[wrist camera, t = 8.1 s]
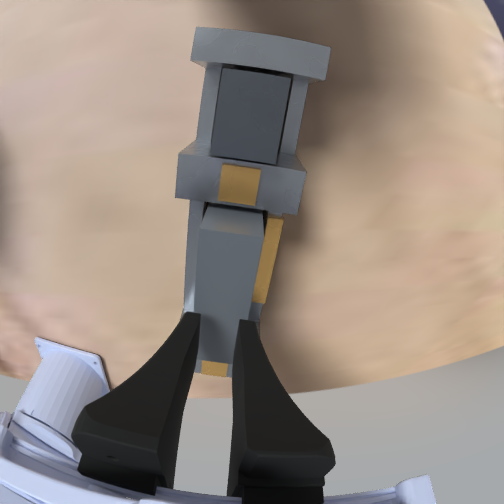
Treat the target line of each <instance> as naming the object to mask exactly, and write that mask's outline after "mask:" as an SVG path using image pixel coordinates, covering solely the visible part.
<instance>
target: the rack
mask: <svg viewBox="0 0 504 504" xmlns="http://www.w3.org/2000/svg"><path fill="white" fill-rule="evenodd" d="M330 51H331V47H327V46H323V45H319V44H315V43H311V42H306V41H302V40H297V39H292V38H287V37H281V36H275V35H269V34H263V33H256V32H248V31H240V30H231V29H219V28H205V27H196V30H195V36H194V42H193V47H192V53H191V61H193V62H195V63H197V64H199V65H201V66H202V67H204V68H206V71H205V78H204V84H203V91H202V98H201V105H200V113H199V121H198V129H197V137H196V140H195V141H193V142H192V143H191V144H190V145H188V146H187V147H186V148H185V149H183V150H182V151H181V152H180V153H179V155H178V166H177V179H176V192H175V198H182V199H189V200H190V207H189V219H188V233H187V249H186V267H185V288H184V308H183V311H182V315H181V318H180V320H181V319H182V317H183V315H184V313H185V312H193V310H194V293H195V278H196V264H197V251H198V239H199V228H200V226H201V223H202V220H203V218H204V215H205V208H206V202H212V203H219V204H227V205H234V206H241V207H247V208H254V209H261V210H267V212H266V217H265V222H264V227H263V229H264V240H263V245H262V250H261V255H260V260H259V265H258V271H257V276H256V281H255V286H254V291H253V296H252V301H251V306H250V311H249V316H248V320H251V321H254V322H255V323H256V326H257V330H258V334H259V337H260V314H261V309H262V305H263V303H264V304H265V302H266V297H267V293H268V289H269V284H270V280H271V275H272V271H273V267H274V262H275V258H276V253H277V249H278V244H279V240H280V235H281V231H282V226H283V221H284V219H283V218H282V214H283V213H286V214H292V215H297V213H298V208H299V204H300V199H301V195H302V191H303V186H304V182H305V177H306V170H305V169H304V167H303V166H302V164H301V162H300V161H299V159H298V158H297V156H296V155H295V150H296V145H297V140H298V135H299V130H300V125H301V120H302V115H303V109H304V104H305V99H306V94H307V88H308V84H309V83H315V82H320V81H325V79H326V73H327V68H328V63H329V57H330ZM232 366H233V364H226V363H218V362H211V361H204V360H197V361H196V367H195V370H194V372H196V373H201V374H206V375H213V376H221V377H232Z"/></svg>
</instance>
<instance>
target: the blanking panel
mask: <svg viewBox="0 0 504 504" xmlns="http://www.w3.org/2000/svg"><path fill="white" fill-rule="evenodd" d="M263 240H264V229H263V210H261V209H254V208H247V207H241V206H234V205H227V204H219V203H212V202H210V203H209V205H208V208H207V210H206V213H205V215H204V218H203V220H202V223H201V226H200V228H199V239H198V251H197V264H196V278H195V293H194V310H193V313H200V314H201V321H200V336H199V348H198V354H197V360H204V361H211V362H218V363H226V364H233V356H234V348H235V342H236V337H237V331H238V325H239V320H240V319H243V320H248V316H249V311H250V306H251V301H252V296H253V291H254V286H255V281H256V276H257V271H258V265H259V260H260V255H261V250H262V245H263Z"/></svg>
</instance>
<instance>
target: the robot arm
mask: <svg viewBox="0 0 504 504" xmlns="http://www.w3.org/2000/svg"><path fill="white" fill-rule="evenodd" d="M200 321H201V314H200V313H193V312H185V313H184V315H183V317H182V319H181V320H180V322H179V323H178V325H177V326H176V328H175V329H174V331H173V332H172V333H171V335H170V336H169V337H168V339H167V340H166V341H165V342H164V344H163V345H162V346H161V347H160V348H159V349H158V351H157V352H156V353H155V354H154V355H153V356H152V357H151V358H150V359H149V360H148V361H147V362H146V363H145V364H144V365H143V366H142V367H141V368H140V369H139V370H138V371H137V372H135V373H134V374H133V375H132V376H131V377H130V378H128V379H127V380H126V381H124V382H123V383H122V384H120V385H119V386H117V387H116V388H114V389H113V390H112V391H110V389H109V386H108V382H107V379H106V376H105V372H104V369H103V366H102V362H101V359H100V357H99V356H98V355H96V354H93V353H89V352H85V351H82V350H78V349H75V348H71V347H68V346H64V345H61V344H58V343H55V342H51V341H48V340H45V339H42V338H39V337H36V338H35V343H36V346H37V348H38V351H39V353H40V355H41V358H42V361H41V363H40V364H39V366H38V368H37V370H36V372H35V373H34V375H33V377H32V379H31V381H30V382H29V384H28V386H27V388H26V390H25V392H24V394H23V396H22V397H21V399H20V402H19V403H18V405H17V407H16V409H15V411H14V412H13V414H10V413H9V412H7V411H5V412H0V504H436V500H435V496H434V492H433V488H432V485H431V481H430V477H429V475H428V474H425V475H421V476H417V477H413V478H409V479H406V480H403V481H402V482H400V483H398V484H397V485H396V486H395V487H390V488H385V489H379V490H374V491H367V492H361V493H353V494H346V495H336V496H326V497H324V496H323V486H324V485H325V480H324V476H325V475H326V474H327V473H328V472H329V471H330V470H331V469H332V468H333V467H334V466H335V464H336V463H335V455H334V451H333V448H332V445H331V442H330V440H329V439H328V438H327V437H326V436H325V435H324V434H323V433H322V432H321V431H320V430H318V429H317V428H316V427H315V426H314V425H313V424H312V423H311V422H310V420H309V419H308V418H307V417H306V416H305V415H304V414H303V413H302V412H301V410H300V409H299V408H298V407H297V405H296V404H295V403H294V402H293V400H292V399H291V398H290V396H289V395H288V393H287V392H286V390H285V389H284V387H283V386H282V384H281V382H280V381H279V379H278V377H277V376H276V374H275V372H274V370H273V368H272V366H271V364H270V362H269V360H268V357H267V355H266V353H265V350H264V348H263V345H262V343H261V340H260V337H259V334H258V330H257V326H256V323H255V322H254V321H251V320H243V319H240V320H239V325H238V331H237V337H236V342H235V348H234V356H233V366H232V394H233V427H232V440H231V452H230V464H229V476H228V487H227V496H217V495H208V494H199V493H192V492H186V491H180V490H174V489H173V485H174V476H175V467H176V459H177V450H178V443H179V436H180V429H181V423H182V416H183V411H184V407H185V403H186V400H187V396H188V392H189V389H190V385H191V381H192V378H193V374H194V370H195V367H196V361H197V354H198V348H199V336H200ZM126 497H128V498H131V499H128V498H126ZM134 499H135V500H134Z"/></svg>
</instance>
